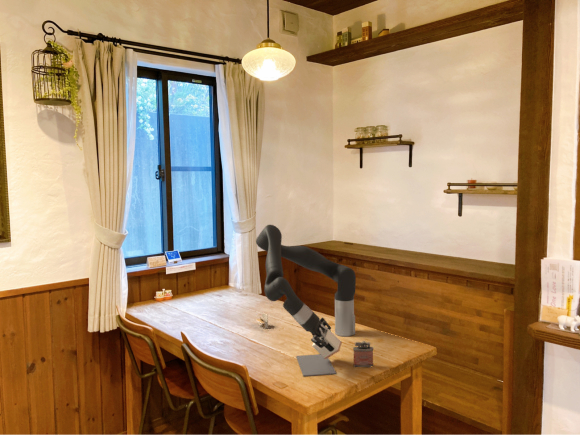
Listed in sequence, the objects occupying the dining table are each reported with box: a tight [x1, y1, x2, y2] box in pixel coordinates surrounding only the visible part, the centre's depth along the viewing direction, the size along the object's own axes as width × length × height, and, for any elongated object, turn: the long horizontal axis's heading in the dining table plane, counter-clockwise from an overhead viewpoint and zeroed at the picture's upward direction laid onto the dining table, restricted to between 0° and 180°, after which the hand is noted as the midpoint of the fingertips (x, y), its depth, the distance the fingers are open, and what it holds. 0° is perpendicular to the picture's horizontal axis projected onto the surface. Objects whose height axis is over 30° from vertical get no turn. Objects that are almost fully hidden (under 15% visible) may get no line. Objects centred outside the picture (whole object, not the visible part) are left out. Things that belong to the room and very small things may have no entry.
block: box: [311, 329, 343, 359], centre depth 183 cm, size 8×6×8 cm
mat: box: [295, 353, 337, 377], centre depth 181 cm, size 13×19×1 cm
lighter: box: [352, 340, 374, 368], centre depth 179 cm, size 8×3×10 cm, turn 92°
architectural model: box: [255, 312, 269, 330], centre depth 228 cm, size 3×7×7 cm, turn 31°
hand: (333, 345), depth 182 cm, fingers closed on block, 5 cm apart
